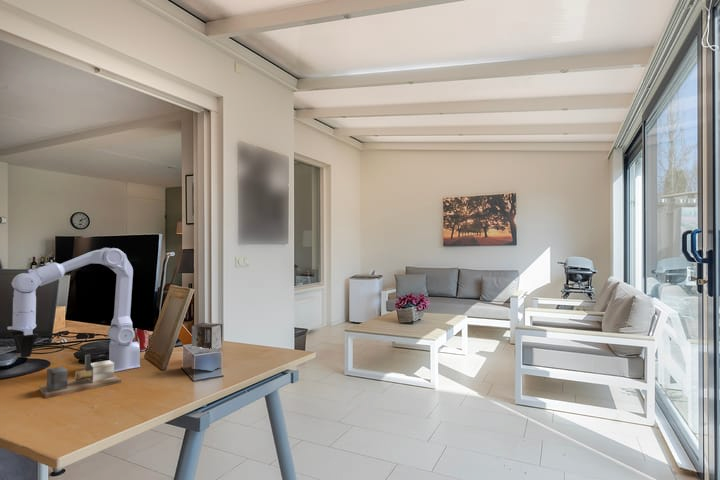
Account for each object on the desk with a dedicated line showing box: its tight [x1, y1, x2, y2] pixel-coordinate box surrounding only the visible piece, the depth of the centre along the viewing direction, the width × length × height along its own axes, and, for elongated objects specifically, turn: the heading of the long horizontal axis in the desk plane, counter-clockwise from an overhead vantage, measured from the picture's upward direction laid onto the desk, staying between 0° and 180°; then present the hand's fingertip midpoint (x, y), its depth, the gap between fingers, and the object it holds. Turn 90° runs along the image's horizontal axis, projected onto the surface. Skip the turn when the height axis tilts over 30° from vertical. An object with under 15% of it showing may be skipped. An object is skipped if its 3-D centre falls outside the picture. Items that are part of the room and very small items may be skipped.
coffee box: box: [191, 322, 224, 356], centre depth 154 cm, size 9×6×16 cm
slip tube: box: [74, 353, 93, 381], centre depth 135 cm, size 9×3×7 cm, turn 137°
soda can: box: [134, 327, 150, 352], centre depth 178 cm, size 5×5×12 cm
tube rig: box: [38, 360, 122, 399], centre depth 133 cm, size 20×10×6 cm, turn 137°
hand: (23, 354), depth 132 cm, fingers open, 7 cm apart
